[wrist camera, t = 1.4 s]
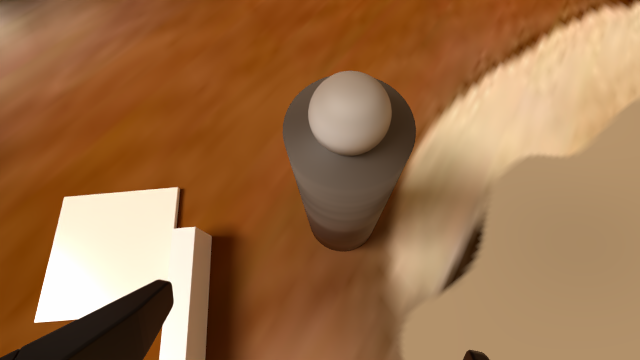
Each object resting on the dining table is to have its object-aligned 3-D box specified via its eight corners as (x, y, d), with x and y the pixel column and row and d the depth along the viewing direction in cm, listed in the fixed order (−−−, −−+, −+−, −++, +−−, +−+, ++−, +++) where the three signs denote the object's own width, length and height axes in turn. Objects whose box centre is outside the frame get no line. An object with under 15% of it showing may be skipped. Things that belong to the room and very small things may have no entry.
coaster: (168, 311, 22) (165, 311, 21) (39, 322, 22) (34, 322, 21) (180, 188, 25) (177, 187, 25) (68, 198, 25) (64, 197, 25)
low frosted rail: (197, 498, 18) (172, 534, 15) (171, 500, 18) (141, 536, 15) (211, 236, 23) (195, 226, 21) (191, 237, 23) (172, 228, 21)
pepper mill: (378, 248, 23) (450, 152, 8) (312, 254, 23) (272, 168, 9) (369, 185, 24) (416, 21, 10) (308, 191, 24) (269, 35, 10)
